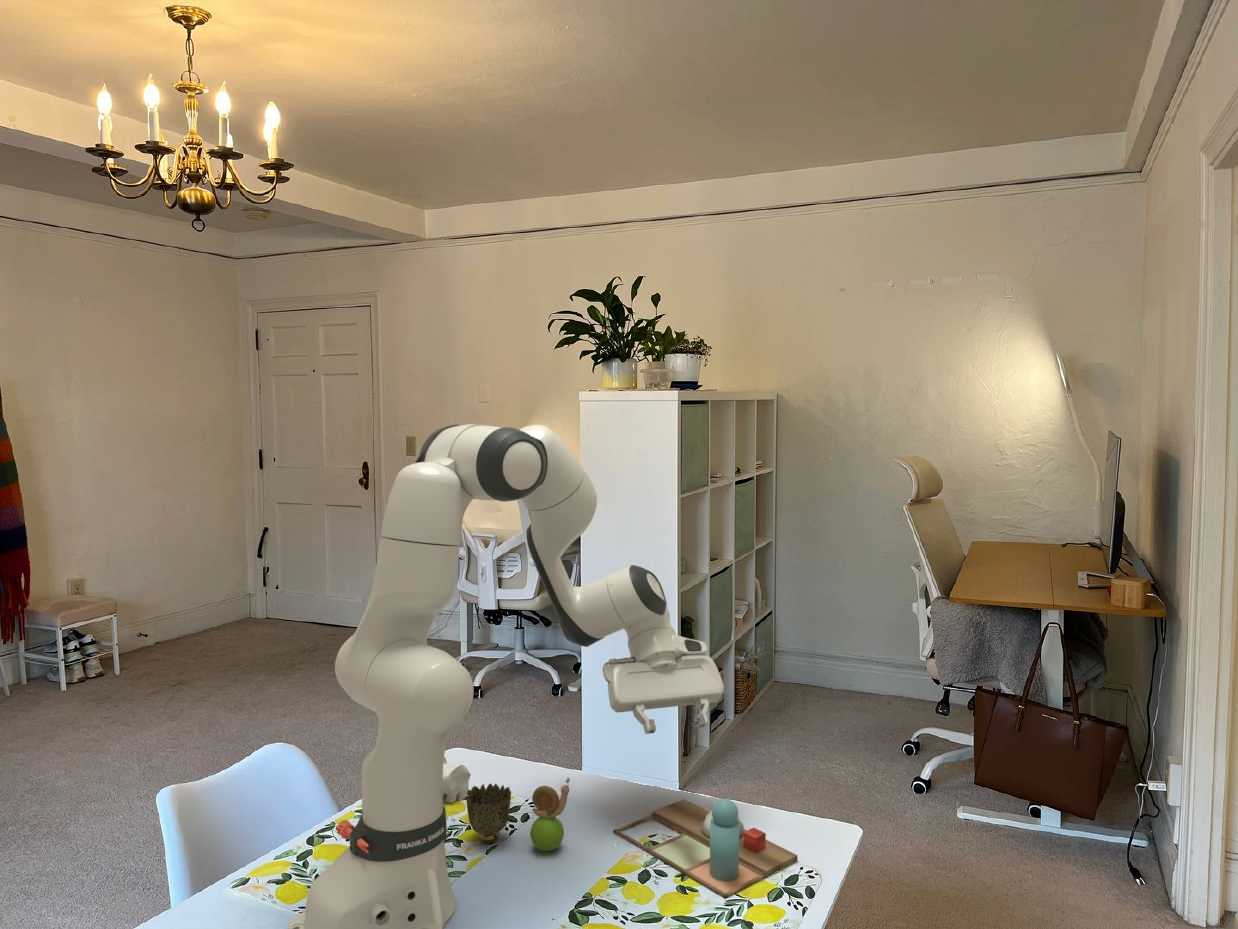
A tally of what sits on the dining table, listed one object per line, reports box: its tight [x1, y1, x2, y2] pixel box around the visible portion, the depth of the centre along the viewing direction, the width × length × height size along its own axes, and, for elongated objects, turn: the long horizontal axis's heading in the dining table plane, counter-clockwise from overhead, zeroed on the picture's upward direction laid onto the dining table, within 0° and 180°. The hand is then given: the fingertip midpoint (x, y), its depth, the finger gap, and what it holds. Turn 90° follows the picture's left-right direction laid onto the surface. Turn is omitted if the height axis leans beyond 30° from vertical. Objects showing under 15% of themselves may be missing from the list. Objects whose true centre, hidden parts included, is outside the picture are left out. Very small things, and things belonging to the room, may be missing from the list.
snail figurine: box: [529, 777, 571, 852], centre depth 140 cm, size 5×6×12 cm
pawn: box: [710, 798, 739, 881], centre depth 132 cm, size 4×4×12 cm
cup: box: [465, 783, 512, 844], centre depth 143 cm, size 8×7×8 cm
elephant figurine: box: [443, 756, 472, 804], centre depth 158 cm, size 8×10×7 cm
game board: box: [612, 798, 799, 899], centre depth 141 cm, size 16×26×6 cm, turn 40°
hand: (677, 729), depth 144 cm, fingers open, 8 cm apart
